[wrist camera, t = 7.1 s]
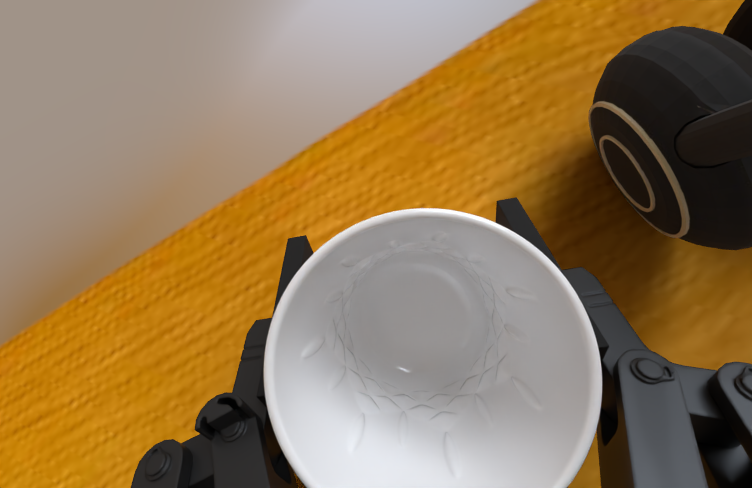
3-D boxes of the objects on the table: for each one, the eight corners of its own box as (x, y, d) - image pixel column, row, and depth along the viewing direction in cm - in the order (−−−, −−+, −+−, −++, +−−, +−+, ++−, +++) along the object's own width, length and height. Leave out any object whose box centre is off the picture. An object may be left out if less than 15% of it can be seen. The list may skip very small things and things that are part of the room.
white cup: (522, 344, 18) (673, 457, 8) (385, 415, 18) (357, 608, 8) (445, 208, 18) (492, 148, 8) (314, 280, 19) (208, 304, 9)
